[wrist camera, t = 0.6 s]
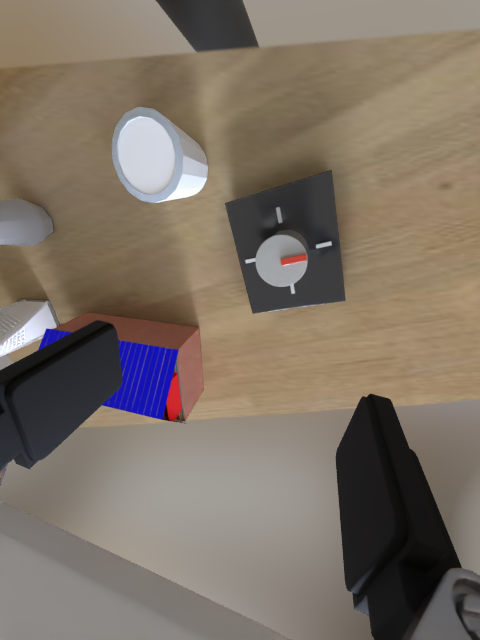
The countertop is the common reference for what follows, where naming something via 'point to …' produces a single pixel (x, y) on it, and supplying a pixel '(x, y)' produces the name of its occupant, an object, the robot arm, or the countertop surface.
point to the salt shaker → (23, 223)
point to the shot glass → (157, 157)
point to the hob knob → (282, 258)
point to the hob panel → (298, 215)
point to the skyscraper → (25, 323)
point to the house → (150, 365)
